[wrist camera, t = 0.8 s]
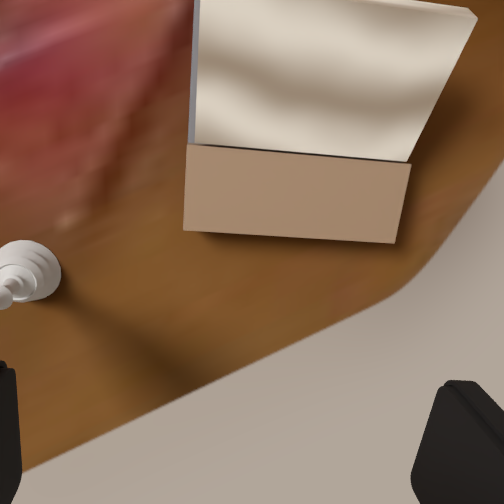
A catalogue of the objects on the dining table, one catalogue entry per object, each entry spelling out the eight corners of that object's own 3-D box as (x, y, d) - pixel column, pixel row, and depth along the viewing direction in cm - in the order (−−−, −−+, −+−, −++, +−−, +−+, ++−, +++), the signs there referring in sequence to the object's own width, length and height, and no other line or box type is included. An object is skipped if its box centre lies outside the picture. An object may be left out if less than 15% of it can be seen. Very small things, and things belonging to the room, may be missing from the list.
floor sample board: (195, -14, 28) (194, -27, 25) (422, 16, 30) (444, 7, 27) (184, 219, 33) (183, 230, 30) (379, 232, 35) (394, 243, 32)
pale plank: (202, -30, 22) (201, -20, 21) (467, 8, 24) (477, 18, 23) (195, 129, 29) (194, 142, 28) (400, 149, 31) (406, 161, 30)
